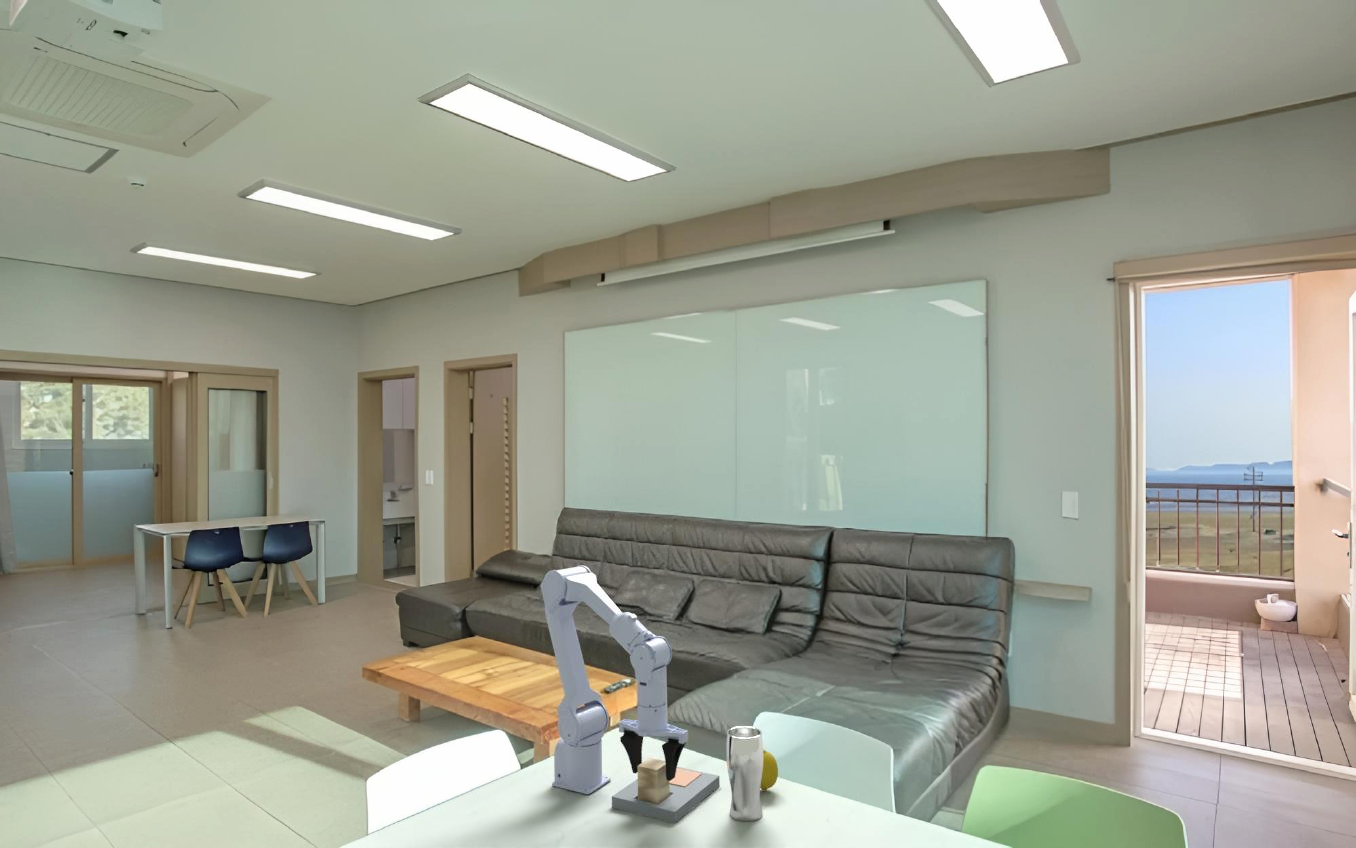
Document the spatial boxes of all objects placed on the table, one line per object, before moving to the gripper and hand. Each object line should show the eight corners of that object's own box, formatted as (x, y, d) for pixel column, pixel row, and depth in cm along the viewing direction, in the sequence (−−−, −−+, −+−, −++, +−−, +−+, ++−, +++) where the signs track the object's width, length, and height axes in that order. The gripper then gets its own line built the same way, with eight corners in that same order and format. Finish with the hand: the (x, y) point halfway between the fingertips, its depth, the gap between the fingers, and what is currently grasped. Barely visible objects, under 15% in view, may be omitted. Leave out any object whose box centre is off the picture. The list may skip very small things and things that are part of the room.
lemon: (777, 798, 147) (776, 756, 148) (749, 796, 148) (748, 754, 149) (779, 786, 153) (778, 745, 153) (752, 784, 154) (751, 744, 154)
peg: (638, 809, 144) (637, 766, 144) (650, 799, 148) (649, 758, 148) (657, 813, 142) (657, 770, 142) (669, 804, 145) (669, 762, 146)
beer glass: (768, 808, 143) (766, 727, 144) (760, 825, 136) (758, 740, 137) (732, 803, 145) (731, 724, 146) (723, 820, 139) (721, 736, 139)
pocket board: (611, 807, 145) (611, 795, 145) (660, 773, 160) (660, 762, 160) (675, 823, 138) (674, 810, 138) (719, 786, 153) (719, 774, 153)
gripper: (609, 703, 146) (610, 775, 145) (674, 714, 139) (676, 790, 138) (629, 693, 152) (630, 762, 151) (692, 703, 145) (694, 776, 144)
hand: (653, 775), depth 145 cm, fingers open, 7 cm apart
